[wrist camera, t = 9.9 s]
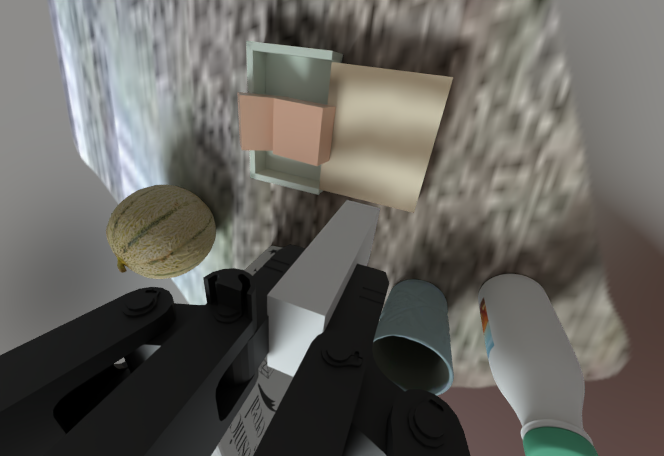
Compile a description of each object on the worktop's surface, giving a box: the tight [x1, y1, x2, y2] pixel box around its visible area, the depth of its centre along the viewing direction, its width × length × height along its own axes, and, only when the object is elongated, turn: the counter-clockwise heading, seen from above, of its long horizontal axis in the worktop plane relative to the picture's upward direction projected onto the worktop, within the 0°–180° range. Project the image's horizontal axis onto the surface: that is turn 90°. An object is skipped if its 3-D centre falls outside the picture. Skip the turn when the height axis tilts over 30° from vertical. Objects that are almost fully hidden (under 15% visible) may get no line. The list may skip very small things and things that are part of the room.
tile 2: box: [238, 92, 289, 151], centre depth 34 cm, size 6×6×3 cm
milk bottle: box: [478, 274, 598, 456], centre depth 29 cm, size 8×8×20 cm
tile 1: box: [273, 98, 336, 166], centre depth 31 cm, size 6×6×3 cm
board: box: [319, 62, 453, 213], centre depth 32 cm, size 14×12×4 cm
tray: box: [246, 41, 343, 195], centre depth 35 cm, size 16×10×4 cm, turn 173°
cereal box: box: [211, 246, 293, 456], centre depth 41 cm, size 22×8×25 cm, turn 1°
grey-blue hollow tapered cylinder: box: [372, 279, 454, 396], centre depth 38 cm, size 10×10×12 cm
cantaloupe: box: [106, 185, 216, 279], centre depth 44 cm, size 15×15×15 cm
